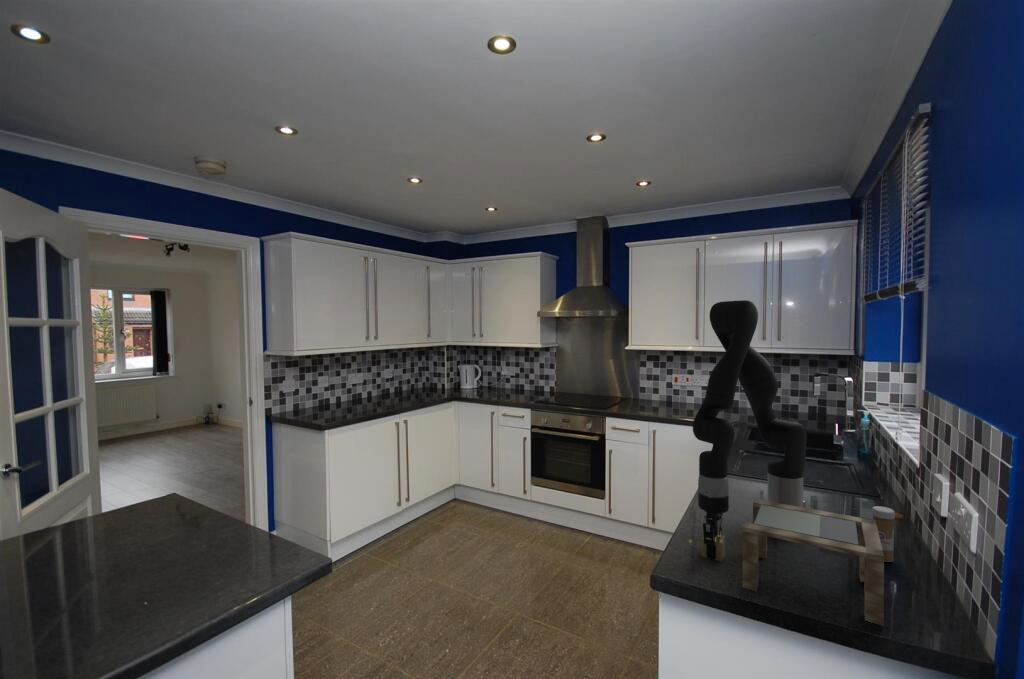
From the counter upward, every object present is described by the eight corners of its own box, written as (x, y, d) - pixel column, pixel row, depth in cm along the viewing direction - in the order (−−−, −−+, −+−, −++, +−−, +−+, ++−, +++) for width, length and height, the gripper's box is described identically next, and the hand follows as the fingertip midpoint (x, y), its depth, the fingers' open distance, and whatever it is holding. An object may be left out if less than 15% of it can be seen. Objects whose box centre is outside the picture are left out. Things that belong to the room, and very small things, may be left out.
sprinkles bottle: (871, 560, 121) (871, 509, 121) (872, 553, 125) (872, 504, 124) (894, 565, 118) (894, 513, 118) (894, 558, 122) (894, 508, 121)
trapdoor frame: (874, 579, 112) (875, 520, 111) (883, 626, 94) (884, 556, 94) (754, 551, 126) (754, 498, 126) (742, 587, 109) (742, 526, 109)
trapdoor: (855, 536, 111) (855, 521, 111) (858, 560, 99) (858, 544, 99) (761, 517, 122) (761, 504, 122) (754, 537, 111) (754, 523, 110)
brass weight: (705, 549, 128) (705, 531, 128) (725, 554, 125) (725, 535, 125) (701, 556, 124) (701, 538, 124) (721, 561, 121) (721, 542, 121)
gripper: (704, 481, 132) (704, 540, 132) (692, 496, 120) (692, 561, 121) (733, 486, 128) (733, 546, 128) (723, 502, 116) (723, 569, 116)
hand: (713, 553), depth 124 cm, fingers closed on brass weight, 5 cm apart
